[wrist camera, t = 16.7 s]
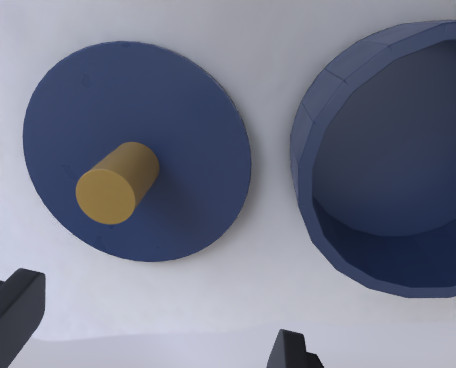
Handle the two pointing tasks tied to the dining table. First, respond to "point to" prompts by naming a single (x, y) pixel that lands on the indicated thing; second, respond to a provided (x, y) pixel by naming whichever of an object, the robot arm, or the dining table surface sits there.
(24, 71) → the dining table surface
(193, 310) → the dining table surface
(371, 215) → the tin
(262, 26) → the dining table surface
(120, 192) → the tin lid
